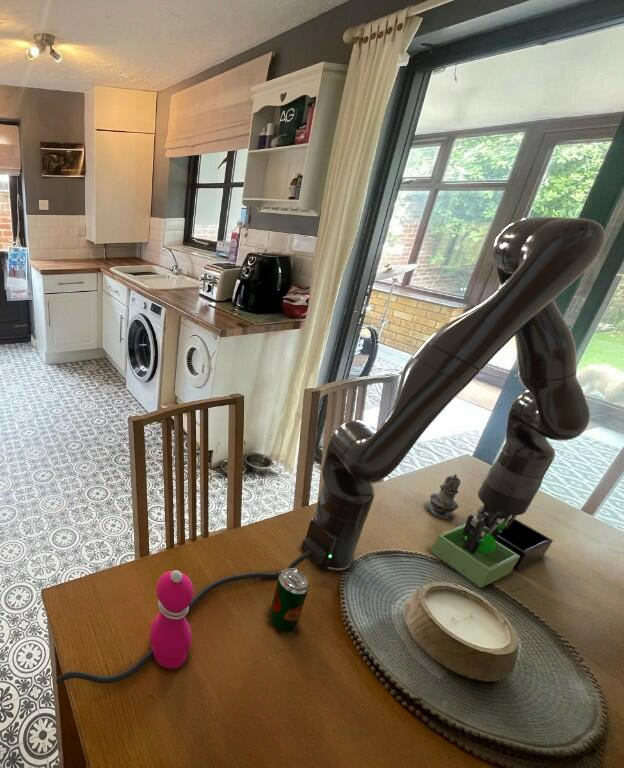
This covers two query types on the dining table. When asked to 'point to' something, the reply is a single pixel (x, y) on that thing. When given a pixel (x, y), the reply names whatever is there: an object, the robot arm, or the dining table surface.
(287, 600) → the soda can
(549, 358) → the robot arm
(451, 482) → the grey figurine
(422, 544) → the dining table surface
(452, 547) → the green bin
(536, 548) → the charcoal bin
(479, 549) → the polyhedron
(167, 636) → the pepper mill
